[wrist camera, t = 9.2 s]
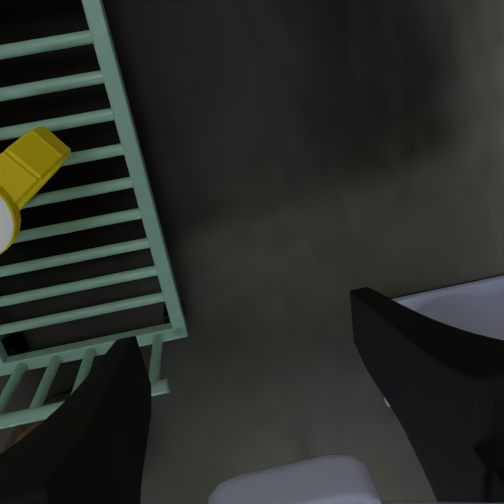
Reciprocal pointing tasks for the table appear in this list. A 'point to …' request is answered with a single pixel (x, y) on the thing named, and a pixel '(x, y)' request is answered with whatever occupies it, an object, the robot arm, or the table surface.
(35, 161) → the watch
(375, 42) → the table surface
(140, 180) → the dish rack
